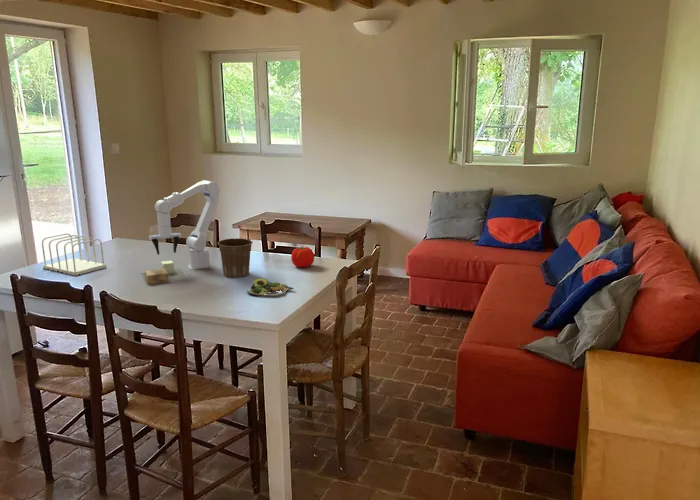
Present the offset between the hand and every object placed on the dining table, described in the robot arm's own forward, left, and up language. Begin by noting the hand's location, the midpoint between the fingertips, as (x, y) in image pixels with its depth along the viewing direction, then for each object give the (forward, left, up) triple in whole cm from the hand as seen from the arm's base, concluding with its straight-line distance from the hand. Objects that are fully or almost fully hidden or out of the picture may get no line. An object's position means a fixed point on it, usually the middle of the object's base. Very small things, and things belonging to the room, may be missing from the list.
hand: (166, 253), depth 266 cm
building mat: (+3, +6, -10) cm, 12 cm away
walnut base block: (+7, +11, -10) cm, 16 cm away
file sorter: (+40, -29, -10) cm, 50 cm away
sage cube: (0, 0, -10) cm, 10 cm away
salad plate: (-34, +47, -10) cm, 59 cm away
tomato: (-63, +18, -10) cm, 66 cm away
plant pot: (-29, +17, -10) cm, 35 cm away
